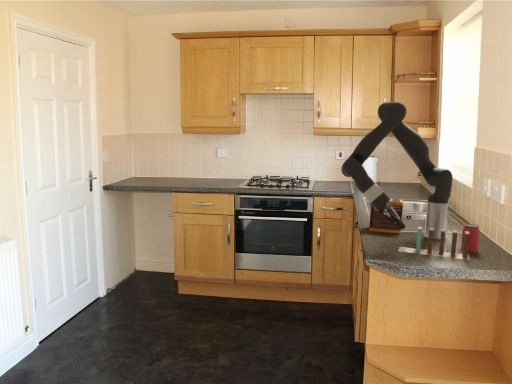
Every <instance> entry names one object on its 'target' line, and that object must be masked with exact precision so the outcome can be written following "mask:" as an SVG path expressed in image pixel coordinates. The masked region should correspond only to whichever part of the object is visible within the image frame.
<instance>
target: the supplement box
mask: <svg viewBox="0 0 512 384" xmlns="http://www.w3.org/2000/svg"><path fill="white" fill-rule="evenodd" d="M387 204H388V205H390V206H392V207H393V208H394V209H395V211H396V212H397V214H398V215H399V218H400V220H401V221H402V222H403V220H402V219H403V211H404V209H403V208H404V200H403V199H398V198H390V201H389V202H388V203H387ZM383 212H384V211H383V210H382V209H381V208H380V209H379V210H376V209H375V208H374V207H373V206H372V205H371V204H370V214H369V215H370V216H369V229H368V231H369V232H378V233H379V232H380V233H390V234H401V231H402V230H401V229H400V228H399V226H398V225H397V224H396V223H393V222H392V221H391V220H389V219H388V218H387V217H386V216H385V214H384V213H383Z"/></svg>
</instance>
